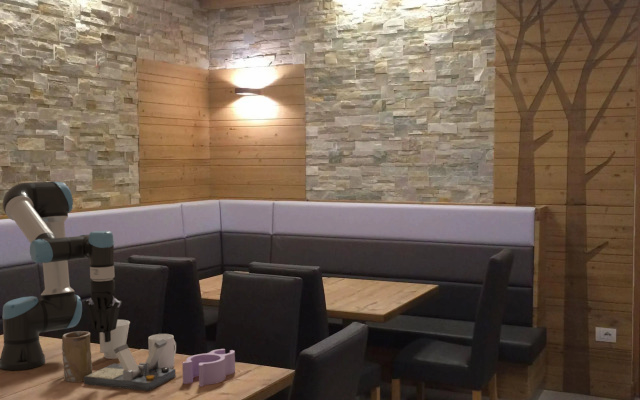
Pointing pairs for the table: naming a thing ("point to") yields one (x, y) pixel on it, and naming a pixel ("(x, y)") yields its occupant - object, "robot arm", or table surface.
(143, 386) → the panel
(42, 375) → the table surface
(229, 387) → the table surface
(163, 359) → the mug
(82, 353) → the mug
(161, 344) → the toggle
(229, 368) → the clip
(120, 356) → the toggle
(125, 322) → the cup
